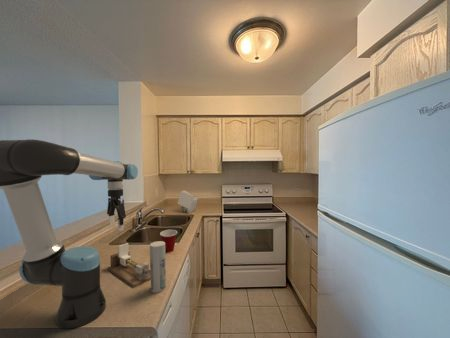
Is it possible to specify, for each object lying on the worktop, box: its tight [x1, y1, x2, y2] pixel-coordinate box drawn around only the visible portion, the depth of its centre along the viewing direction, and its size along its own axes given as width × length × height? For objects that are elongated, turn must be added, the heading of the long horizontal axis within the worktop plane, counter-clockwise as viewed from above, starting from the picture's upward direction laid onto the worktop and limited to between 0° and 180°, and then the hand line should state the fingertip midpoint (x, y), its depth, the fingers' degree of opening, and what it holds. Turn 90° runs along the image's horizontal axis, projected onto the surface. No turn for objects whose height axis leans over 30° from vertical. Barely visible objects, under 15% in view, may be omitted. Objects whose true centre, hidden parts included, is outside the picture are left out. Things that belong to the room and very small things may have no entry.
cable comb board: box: [107, 253, 151, 288], centre depth 106 cm, size 12×28×7 cm, turn 52°
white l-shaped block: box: [117, 242, 132, 266], centre depth 110 cm, size 5×5×10 cm
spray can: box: [149, 240, 167, 294], centre depth 92 cm, size 6×6×20 cm
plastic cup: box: [159, 229, 178, 253], centre depth 134 cm, size 11×11×12 cm
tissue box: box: [177, 189, 199, 214], centre depth 247 cm, size 20×16×25 cm
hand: (116, 228), depth 116 cm, fingers open, 10 cm apart
